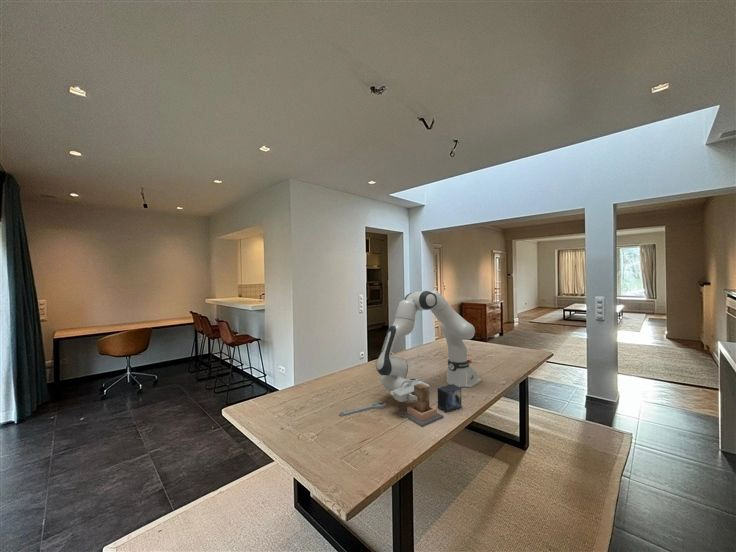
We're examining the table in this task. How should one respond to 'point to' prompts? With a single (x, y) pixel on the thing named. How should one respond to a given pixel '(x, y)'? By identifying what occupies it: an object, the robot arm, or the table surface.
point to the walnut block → (421, 398)
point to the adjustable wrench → (364, 408)
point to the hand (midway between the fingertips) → (422, 397)
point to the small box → (449, 398)
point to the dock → (422, 415)
